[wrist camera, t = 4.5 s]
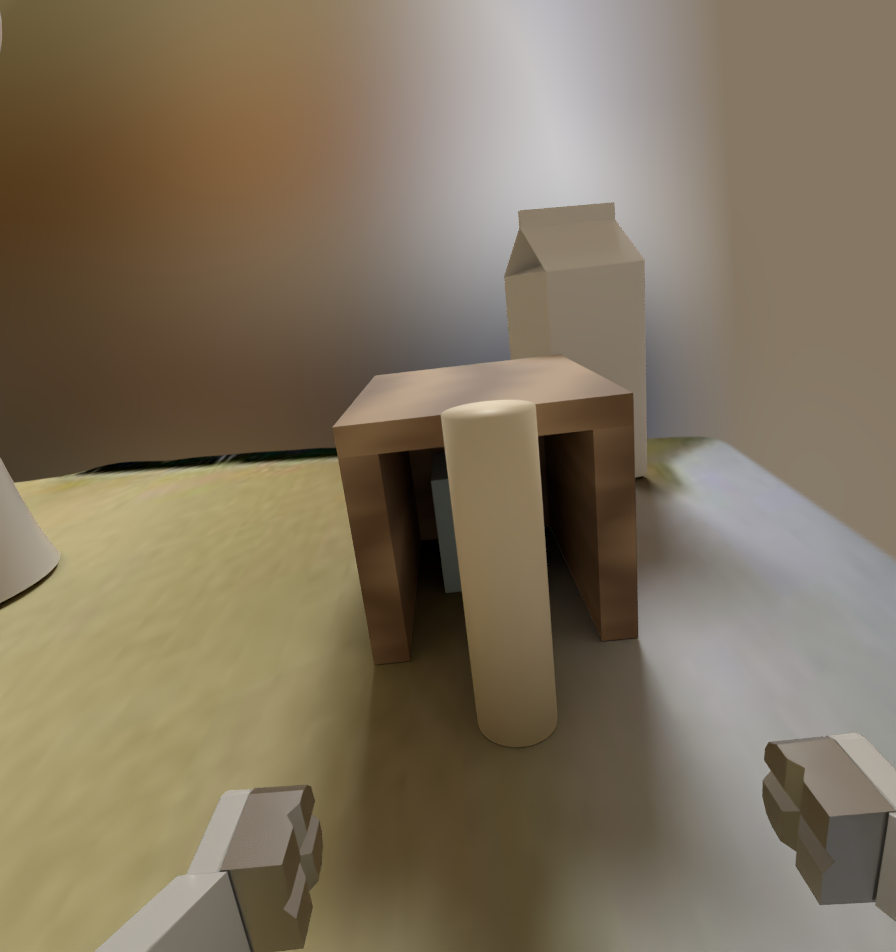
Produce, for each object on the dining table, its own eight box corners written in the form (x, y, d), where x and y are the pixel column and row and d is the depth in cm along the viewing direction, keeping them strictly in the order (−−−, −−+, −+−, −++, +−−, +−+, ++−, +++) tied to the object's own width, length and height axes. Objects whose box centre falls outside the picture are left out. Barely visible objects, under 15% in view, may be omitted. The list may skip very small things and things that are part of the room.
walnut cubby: (374, 664, 25) (332, 427, 22) (398, 533, 38) (375, 375, 35) (638, 637, 24) (633, 393, 21) (568, 515, 38) (560, 354, 35)
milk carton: (648, 477, 43) (644, 192, 37) (559, 496, 41) (541, 201, 35) (597, 455, 49) (587, 211, 44) (519, 471, 48) (498, 218, 42)
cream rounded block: (446, 754, 19) (400, 429, 16) (445, 551, 34) (421, 363, 31) (598, 739, 19) (583, 408, 16) (529, 542, 34) (514, 352, 31)
